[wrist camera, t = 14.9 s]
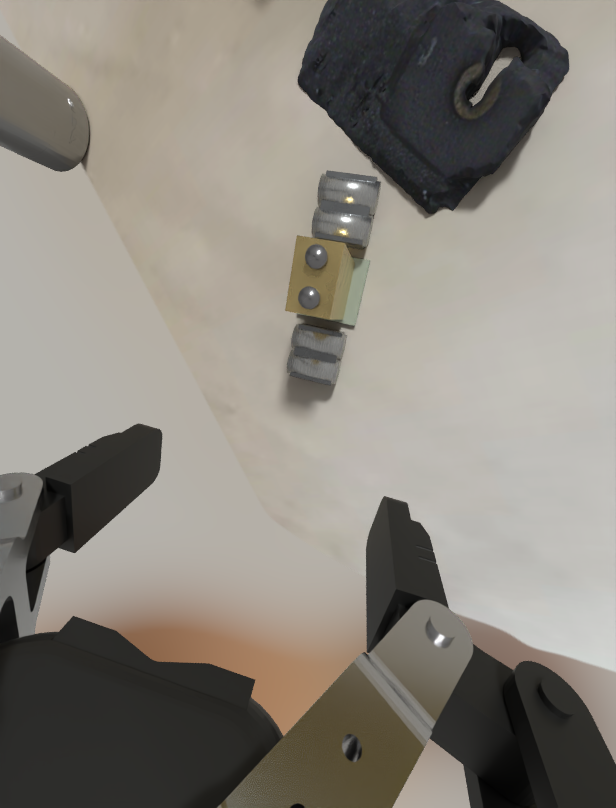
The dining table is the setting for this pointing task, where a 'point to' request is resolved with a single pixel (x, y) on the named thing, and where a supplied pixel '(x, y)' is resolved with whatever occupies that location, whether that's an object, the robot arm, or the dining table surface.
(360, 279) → the pad
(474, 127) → the black stone with hole
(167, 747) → the robot arm
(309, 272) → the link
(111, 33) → the dining table surface
